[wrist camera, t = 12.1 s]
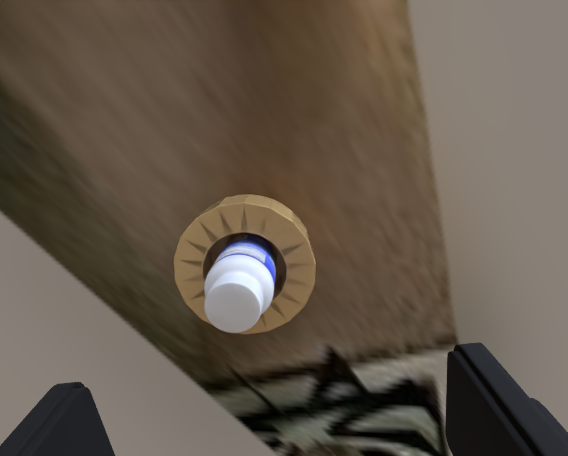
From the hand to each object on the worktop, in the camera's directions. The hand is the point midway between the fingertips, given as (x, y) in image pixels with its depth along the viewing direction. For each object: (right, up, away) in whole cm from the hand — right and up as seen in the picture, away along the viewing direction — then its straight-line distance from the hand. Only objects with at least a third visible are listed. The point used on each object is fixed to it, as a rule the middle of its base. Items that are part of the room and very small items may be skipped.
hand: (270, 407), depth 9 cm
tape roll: (-3, +2, +24) cm, 24 cm away
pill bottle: (-3, +2, +24) cm, 24 cm away
